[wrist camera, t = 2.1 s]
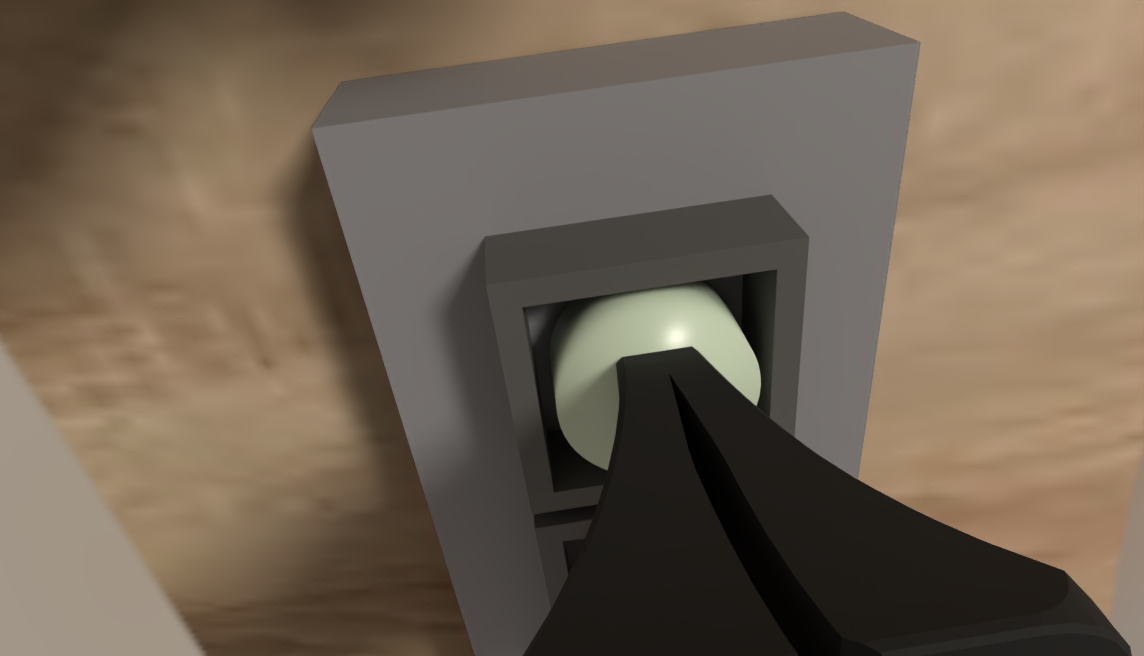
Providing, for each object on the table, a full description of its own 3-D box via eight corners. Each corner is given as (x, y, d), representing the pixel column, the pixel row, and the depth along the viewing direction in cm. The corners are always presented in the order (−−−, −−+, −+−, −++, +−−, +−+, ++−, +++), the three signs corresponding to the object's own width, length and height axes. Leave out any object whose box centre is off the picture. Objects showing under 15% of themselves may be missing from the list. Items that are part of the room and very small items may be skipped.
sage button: (733, 406, 15) (757, 459, 14) (561, 433, 15) (568, 489, 14) (735, 251, 13) (764, 295, 12) (537, 281, 13) (544, 329, 12)
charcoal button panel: (789, 643, 26) (846, 787, 22) (509, 689, 26) (515, 844, 22) (844, 11, 14) (984, 68, 10) (341, 82, 14) (285, 167, 10)
